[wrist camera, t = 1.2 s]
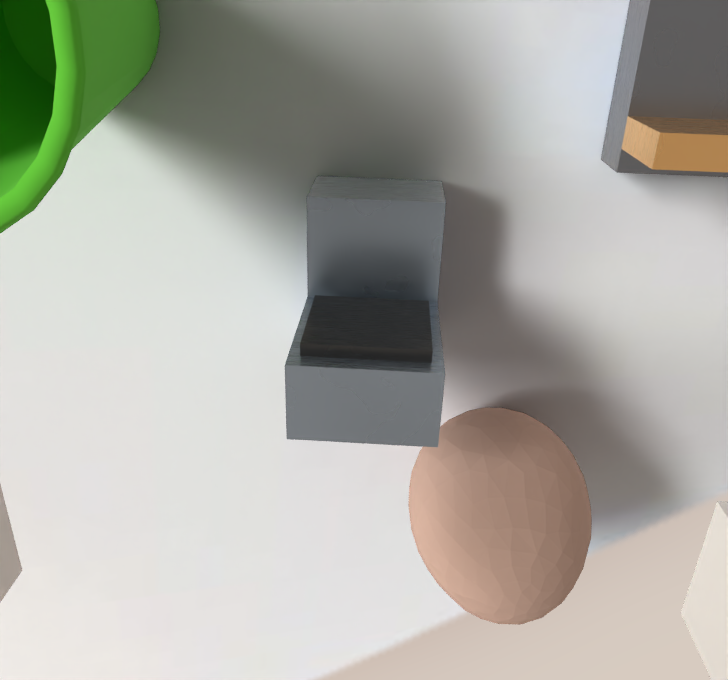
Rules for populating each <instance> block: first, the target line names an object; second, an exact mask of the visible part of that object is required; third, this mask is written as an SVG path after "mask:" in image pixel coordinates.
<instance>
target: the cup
mask: <svg viewBox="0 0 728 680" xmlns="http://www.w3.org/2000/svg"><path fill="white" fill-rule="evenodd" d="M159 35H160V27H159V13H158V8H157V4H156V1H155V0H0V233H1V232H3V231H4V230H6V229H7V228H9V227H10V226H11V225H13V224H14V223H16V222H17V221H19V220H20V219H22V218H23V217H24V216H26V215H27V214H29V213H30V212H32V211H33V210H34V209H35V208H36V207H37V205H38V204H39V203H40V202H41V200H42V199H43V198H44V196H45V195H46V194H47V193H48V191H49V190H50V189H51V187H52V186H53V185H54V184H55V182H56V181H57V180H58V178H59V177H60V176H61V174H62V173H63V170H64V168H65V165H66V162H67V160H68V157H69V155H70V152H71V150H72V149H73V148H74V147H75V146H76V145H77V144H78V143H79V142H80V141H81V140H82V139H83V138H84V137H85V136H86V135H87V134H88V133H89V132H90V131H91V130H92V129H93V128H94V127H95V126H96V125H97V124H98V123H99V122H100V121H101V120H102V119H103V118H104V117H105V116H106V115H107V114H108V113H109V112H110V111H111V110H112V109H113V108H115V107H116V106H117V105H118V104H119V103H120V102H121V101H122V100H123V99H124V98H125V97H126V96H127V95H128V94H129V93H130V92H131V91H132V90H133V89H134V88H135V87H136V86H137V85H138V84H139V83H140V81H141V80H142V79H143V78H144V76H145V75H146V74H147V72H148V71H149V70H150V68H151V65H152V63H153V60H154V58H155V56H156V53H157V48H158V42H159Z"/></svg>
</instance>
